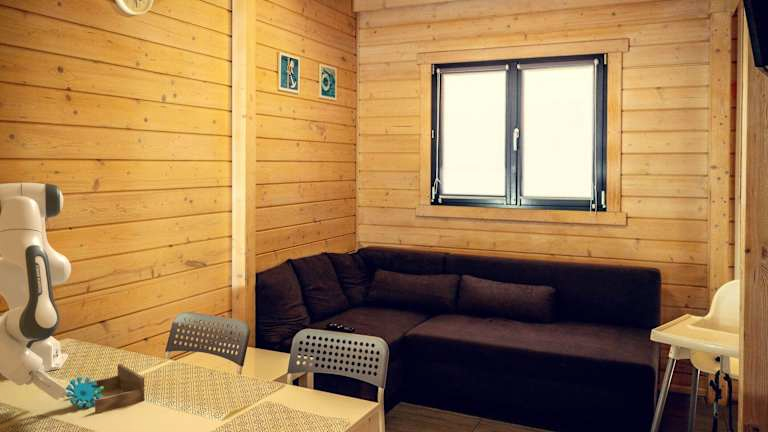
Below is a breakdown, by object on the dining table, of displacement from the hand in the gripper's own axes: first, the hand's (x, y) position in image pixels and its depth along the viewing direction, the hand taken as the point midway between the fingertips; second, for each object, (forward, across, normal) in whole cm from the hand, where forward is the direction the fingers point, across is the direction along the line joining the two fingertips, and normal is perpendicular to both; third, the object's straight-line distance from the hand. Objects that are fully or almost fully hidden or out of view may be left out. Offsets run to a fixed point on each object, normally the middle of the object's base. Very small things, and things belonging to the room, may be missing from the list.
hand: (63, 394), depth 186 cm
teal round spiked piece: (+7, 0, -1) cm, 7 cm away
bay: (+12, 0, -6) cm, 14 cm away
